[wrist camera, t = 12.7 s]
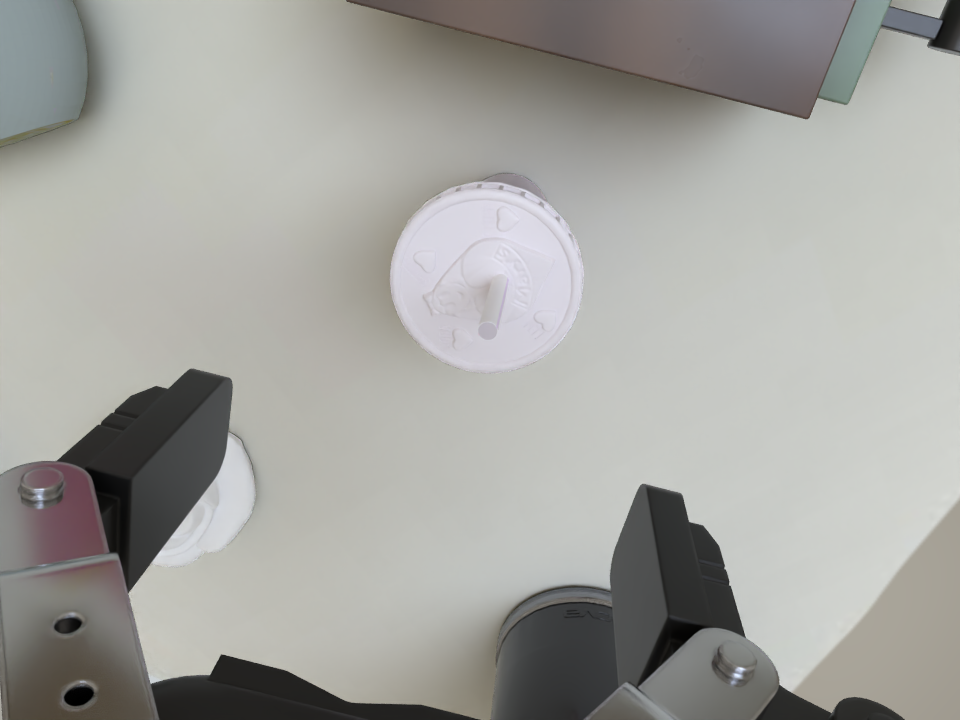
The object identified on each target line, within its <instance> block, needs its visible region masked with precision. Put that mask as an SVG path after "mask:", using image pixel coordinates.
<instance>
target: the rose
mask: <svg viewBox="0 0 960 720" xmlns="http://www.w3.org/2000/svg"><path fill="white" fill-rule="evenodd" d="M255 499H256V486H255V480H254V475H253V471H252V465H251V462H250V459H249V457H248V455H247V453H246V451H245V449H244V446H243V444H242V441H241V440H240V439H239V438H238V437H236V436H235V435H233V434H232V433H230V432H228V440H227V449H226V454H225V457H224V461H223V464H222V466H221V469H220V471H219V473H218V475H217V477H216V478H215V480H214V481H213V482H212V483H211V485H210V486H209V487H208V489H207V490H206V491H205V493H204V494H203V495H202V497H201V498H200V499H199V501H198V502H197V503H196V505H195V506H194V507H193V509H192V510H191V511H190V512H189V514H188V515H187V516H186V518H185V519H184V520H183V522H182V523H181V524H180V526H179V527H178V528H177V530H176V531H175V532H174V534H173V535H172V536H171V538H170V539H169V540H168V541H167V543H166V544H165V545H164V547H163V548H162V549H161V551H160V552H159V553H158V555H157V556H156V557H155V559H154V560H153V561H152V563H151V564H152V565H156V566H167V567H182V566H185V565H188V564H190V563H192V562H194V561H195V560H196V559H198V558H199V557H200V556H201V555H202V554H203V553H204V552H208V553H215V552H218V551H220V550H222V549H223V548H225V547H226V546H227V545H228V544H229V543H230V542H231V541H232V540H233V539H234V538H235V537H236V535H237V534H238V533H239V531H240V530H241V529H242V528H243V526H244V525H245V524H246V522H247V521H248V519H249V517H250V515H251V513H252V511H253V508H254V504H255Z"/></svg>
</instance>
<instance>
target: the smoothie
mask: <svg viewBox="0 0 960 720" xmlns="http://www.w3.org/2000/svg"><path fill="white" fill-rule="evenodd" d="M583 278H584V267H583V262H582V258H581V253H580V248H579V244H578V243H577V241H576V239H575V237H574V235H573V233H572V231H571V229H570V227H569V226H568V224H567V222H566V221H565V220H564V219H563V218H562V217H561V216H560V215H559V214H558V212H557V211H556V210H555V209H554V208H553V207H552V206H551V205H550V204H549V203H547V201H546V199H545V197H544V195H543V193H542V192H541V190H540V189H539V188H538V187H537V186H536V185H535V184H534V183H533V182H532V181H530V180H528V179H527V178H525V177H522V176H520V175H516V174H508V173H507V174H498V175H494V176H491V177H489V178H487V179H485V180H483V181H481V182H471V183H467V184H463V185H459V186H455V187H451V188H448V189H447V190H445V191H443V192H441V193H440V194H438V195H436V196H434V197H433V198H431V199H429V200H427V201H426V202H425V203H424V204H423V205H422V206H421V207H420V208H419V209H418V210H417V211H416V212H415V213H414V215H413V216H412V217H411V218H410V219H409V221H408V223H407V224H406V226H405V228H404V230H403V232H402V234H401V235H400V237H399V239H398V242H397V245H396V247H395V250H394V253H393V257H392V262H391V268H390V288H391V294H392V299H393V303H394V306H395V309H396V312H397V314H398V316H399V318H400V320H401V322H402V324H403V326H404V327H405V329H406V330H407V332H408V333H409V334H410V336H411V337H412V338H413V339H414V340H415V341H416V342H417V343H418V344H419V345H420V346H421V347H422V348H423V349H424V350H425V351H426V352H428V353H429V354H431V355H432V356H433V357H435V358H437V359H438V360H440V361H442V362H444V363H446V364H448V365H450V366H453V367H456V368H458V369H462V370H466V371H471V372H476V373H503V372H508V371H513V370H516V369H520V368H523V367H525V366H528V365H530V364H532V363H534V362H536V361H538V360H539V359H541V358H543V357H544V356H546V355H547V354H548V353H550V352H551V351H552V350H553V349H554V348H555V347H556V346H557V345H558V344H559V343H560V342H561V341H562V340H563V339H564V337H565V336H566V334H567V333H568V332H569V330H570V328H571V327H572V325H573V323H574V321H575V318H576V316H577V313H578V310H579V307H580V303H581V298H582V294H583Z"/></svg>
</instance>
